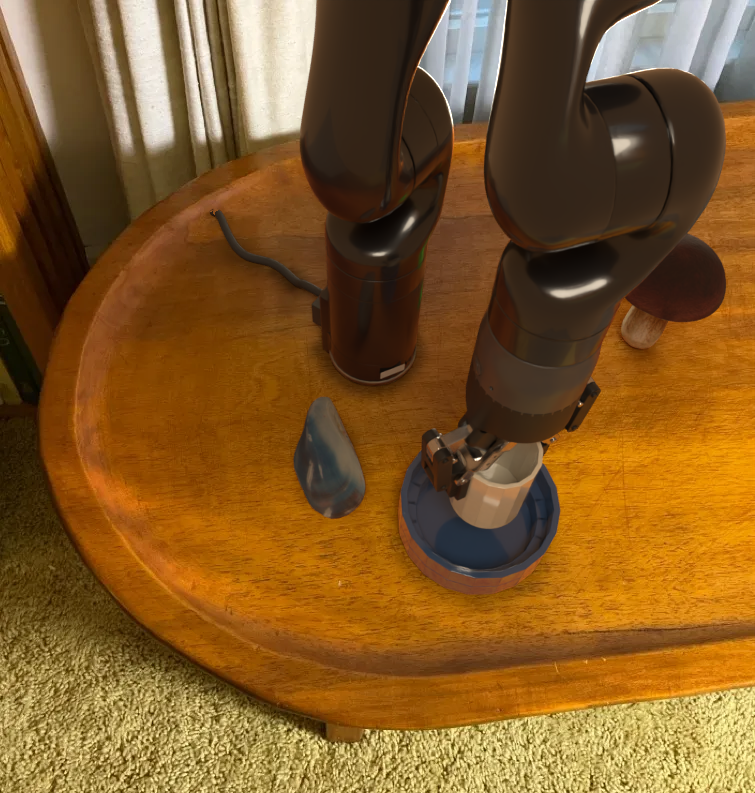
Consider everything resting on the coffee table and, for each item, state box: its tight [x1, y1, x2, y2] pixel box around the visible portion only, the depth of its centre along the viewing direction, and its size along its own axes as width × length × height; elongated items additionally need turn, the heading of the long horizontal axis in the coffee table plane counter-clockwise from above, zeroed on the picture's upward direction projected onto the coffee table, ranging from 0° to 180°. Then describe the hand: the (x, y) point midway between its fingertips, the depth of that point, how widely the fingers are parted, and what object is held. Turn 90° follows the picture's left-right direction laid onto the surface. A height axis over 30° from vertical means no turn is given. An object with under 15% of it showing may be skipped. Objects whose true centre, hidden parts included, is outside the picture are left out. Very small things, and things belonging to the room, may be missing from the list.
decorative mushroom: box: [620, 232, 727, 350], centre depth 78 cm, size 11×11×15 cm
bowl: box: [397, 450, 561, 596], centre depth 70 cm, size 14×14×6 cm
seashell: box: [293, 396, 366, 520], centre depth 73 cm, size 6×9×10 cm
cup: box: [449, 442, 544, 529], centre depth 63 cm, size 6×6×8 cm
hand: (492, 471), depth 63 cm, fingers closed on cup, 6 cm apart
